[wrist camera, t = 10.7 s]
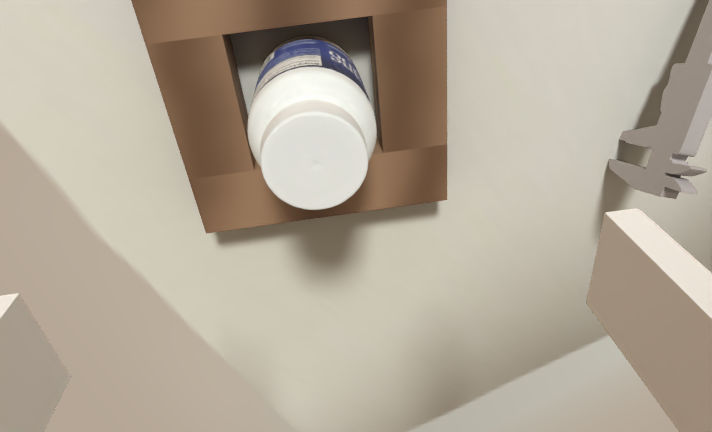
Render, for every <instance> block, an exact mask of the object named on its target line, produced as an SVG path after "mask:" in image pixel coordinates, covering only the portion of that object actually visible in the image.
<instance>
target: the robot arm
mask: <svg viewBox="0 0 712 432" xmlns="http://www.w3.org/2000/svg"><path fill="white" fill-rule="evenodd" d="M586 304H587V305H588V306H589V308H590V309H591V310H592V312H593V313H594V315H595V316H596V317H597V319H598V320H599V322H600V323H601V324H602V326H603V327H604V328H605V330H606V331H607V333H608V334H609V335H610V337H611V338H612V339H613V341H614V342H615V344H616V345H617V346H618V348H619V349H620V350H621V352H622V353H623V354H624V356H625V357H626V359H627V360H628V361H629V363H630V364H631V366H632V367H633V368H634V370H635V371H636V372H637V374H638V375H639V377H640V378H641V379H642V381H643V382H644V383H645V385H646V386H647V388H648V389H649V390H650V392H651V393H652V395H653V396H654V397H655V398H656V400H657V402H658V403H659V404H660V406H661V407H662V408H663V410H664V411H665V413H666V414H667V415H668V417H669V418H670V419H671V421H672V422H673V424H674V425H675V426H676V428H677V429H678V431H679V432H712V273H711V272H710V271H709V270H708V269H706V268H705V267H704V266H703V265H702V264H701V263H700V262H699V261H697V260H696V259H695V258H694V257H693V256H692V255H691V254H689V253H688V252H687V251H686V250H685V249H684V248H683V247H682V246H680V245H679V244H678V243H677V242H676V241H675V240H674V239H672V238H671V237H670V236H669V235H668V234H667V233H666V232H665V231H663V230H662V229H661V228H660V227H659V226H658V225H657V224H656V223H654V222H653V221H652V220H651V219H650V218H649V217H648V216H646V215H645V214H644V213H643V212H642V211H641V210H640V209H639V208H634V209H627V210H620V211H612V212H605V214H604V219H603V224H602V229H601V234H600V238H599V243H598V248H597V253H596V258H595V263H594V267H593V272H592V277H591V282H590V287H589V291H588V296H587V301H586ZM70 378H71V375H70V374H69V372H68V370H67V369H66V367H65V366H64V364H63V362H62V361H61V359H60V358H59V356H58V354H57V353H56V351H55V350H54V348H53V346H52V345H51V343H50V342H49V340H48V338H47V337H46V335H45V334H44V332H43V330H42V329H41V327H40V326H39V324H38V323H37V321H36V319H35V318H34V316H33V315H32V313H31V311H30V310H29V308H28V307H27V305H26V304H25V302H24V300H23V299H22V297H21V296H20V294H19V293H17V294H10V295H3V296H0V432H44V430H45V428H46V426H47V424H48V422H49V420H50V418H51V416H52V414H53V412H54V410H55V408H56V406H57V404H58V402H59V400H60V398H61V396H62V394H63V392H64V390H65V388H66V386H67V384H68V382H69V380H70Z"/></svg>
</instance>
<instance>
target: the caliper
mask: <svg viewBox="0 0 712 432" xmlns="http://www.w3.org/2000/svg"><path fill="white" fill-rule="evenodd" d="M660 112H661V115H660V118H659V120H658V123H657V125H655V126H649V127H644V128H639V129H634V130H629V131H624V132H622V134H621V136H620V138H619V140H623V141H625V142H626V143H629V144H634V145H638V146H643V147H648V148H653V150H652V153H651V155H650V158H649V161H648V164H647V167H643V166H639V165H635V164H631V163H628V162H625V161H620V160H613V159H609V168H610V169H611V170H612V171H613V172H614V173H615V174H616V175H618V176H619V177H620V178H621V179H623V180H624V181H625V182H627V183H628V184H629V185H630V186H632V187H633V188H634V189H637V190H640V191H643V192H646V193H650V194H653V195H656V196H660V197H666V198H674V199H676V197H677V195H678V193H679V192H683V193H691V194H697V190H696V188H695V186H694V185H693V184H692V183H691V182H690V181H689V180H687V179H684V178H680V176H681V175H683V176H695V175H699V174H702V173H705V172H706V171H707V169H704V168H700V167H695V166H689V165H688V162H685V161H686V159H687V157H688V156H690V157H694V156H695V155H696V153H697V151H698V148H699V146H700V143H701V141H702V138H703V136H704V133H705V131H706V128H707V126H708V123H709V121H710V118H711V116H712V0H709V2H708V4H707V7H706V10H705V12H704V15H703V17H702V20H701V23H700V25H699V28H698V31H697V33H696V36H695V38H694V41H693V44H692V46H691V49H690V51H689V54H688V57H687V59H686V62H685V63H675V64H674V65H673V66H672V68H671V72H670V78H669V82H668V84H667V86H666V88H665V89H664V91H663V93H662V100H661V108H660Z"/></svg>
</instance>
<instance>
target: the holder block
mask: <svg viewBox="0 0 712 432" xmlns="http://www.w3.org/2000/svg"><path fill="white" fill-rule="evenodd" d="M132 4H133V7H134V10H135V13H136V16H137V19H138V22H139V25H140V29H141V32H142V35H143V38H144V41H145V44H146V47H147V50H148V53H149V57H150V60H151V63H152V66H153V69H154V72H155V75H156V78H157V81H158V85H159V88H160V91H161V94H162V97H163V100H164V103H165V106H166V110H167V113H168V116H169V119H170V122H171V125H172V128H173V131H174V134H175V138H176V141H177V144H178V147H179V150H180V153H181V156H182V159H183V163H184V166H185V169H186V172H187V175H188V178H189V181H190V184H191V187H192V191H193V194H194V197H195V200H196V203H197V206H198V209H199V212H200V215H201V219H202V222H203V225H204V228H205V231H206V233H212V232H220V231H227V230H234V229H241V228H248V227H255V226H263V225H270V224H277V223H284V222H291V221H298V220H306V219H313V218H320V217H327V216H334V215H342V214H349V213H356V212H363V211H370V210H377V209H385V208H392V207H399V206H406V205H413V204H420V203H428V202H435V201H442V200H447V0H132ZM366 16H368V23H369V35H370V47H371V59H372V71H373V83H374V95H375V107H376V119H377V131H378V139H376V144H375V147H374V151H373V153H372V156H371V158H370V160H369V161H368V170H367V174H366V176H365V179H364V181H363V183H362V184H361V186H360V188H359V189H358V190H357V191H356V192H355V194H354V195H352V196H351V197H350V198H349V199H347V200H346V201H345V202H343V203H341V204H339V205H336V206H334V207H331V208H327V209H321V210H307V209H302V208H298V207H294V206H292V205H290V204H288V203H286V202H284V201H282V200H281V199H280V198H278V197H277V196H276V195H275V194H274V193H273V192H272V191H271V189H270V188H269V187H268V185H267V183H266V181H265V179H264V177H263V174H262V170H261V167H260V166H259V164H258V163H257V161H256V159H255V157H254V155H253V153H252V150H251V148H250V144H249V140H248V114H247V110H246V105H245V101H244V96H243V92H242V88H241V83H240V79H239V75H238V70H237V66H236V62H235V57H234V53H233V49H232V44H231V40H230V36H229V34H232V33H240V32H248V31H256V30H264V29H271V28H279V27H287V26H295V25H303V24H311V23H319V22H327V21H334V20H342V19H350V18H358V17H366Z"/></svg>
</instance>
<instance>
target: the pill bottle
mask: <svg viewBox="0 0 712 432" xmlns="http://www.w3.org/2000/svg"><path fill="white" fill-rule="evenodd" d="M376 136H377V126H376V120H375V114H374V111H373V108H372V105H371V102H370V100H369V98H368V95H367V93H366V90H365V88H364V85H363V82H362V80H361V78H360V76H359V73H358V71H357V69H356V67H355V65H354V63H353V61H352V60H351V58H350V57H349V56H348V54H347V53H346V52H345V51H344V50H343V49H342V48H341V47H339V46H338V45H337V44H335V43H333V42H332V41H329V40H327V39H324V38H321V37H316V36H300V37H295V38H292V39H290V40H287V41H285V42H283V43H281V44H280V45H279V46H277V47H276V48H275V49H274V50H273V51H272V52H271V53H270V54H269V55H268V57H267V58H266V60H265V61H264V63H263V66H262V68H261V70H260V73H259V77H258V81H257V85H256V88H255V93H254V97H253V101H252V105H251V109H250V113H249V117H248V140H249V144H250V148H251V150H252V153H253V155H254V157H255V159H256V161H257V163H258V164H259V166H260V167H261V170H262V174H263V177H264V179H265V181H266V183H267V185H268V187H269V188H270V189H271V191H272V192H273V193H274V194H275V195H276V196H277V197H278V198H280V199H281V200H282V201H284V202H286V203H288V204H290V205H292V206H294V207H298V208H302V209H307V210H321V209H327V208H331V207H334V206H336V205H339V204H341V203H343V202H345V201H346V200H347V199H349V198H350V197H351V196H352V195H354V194H355V192H356V191H357V190H358V189H359V188H360V186H361V184H362V183H363V181H364V179H365V176H366V174H367V170H368V161H369V160H370V158H371V156H372V153H373V151H374V147H375V144H376Z"/></svg>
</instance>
